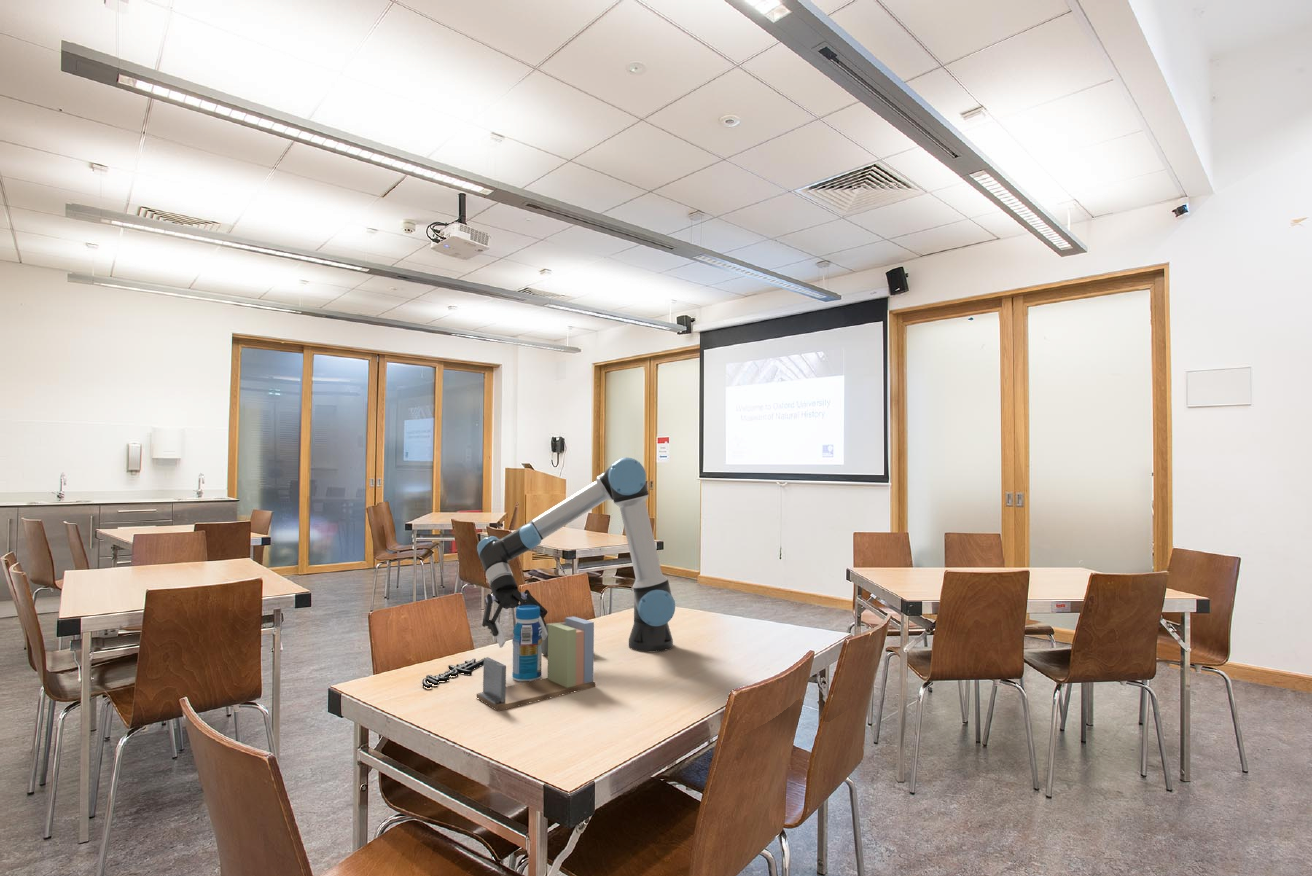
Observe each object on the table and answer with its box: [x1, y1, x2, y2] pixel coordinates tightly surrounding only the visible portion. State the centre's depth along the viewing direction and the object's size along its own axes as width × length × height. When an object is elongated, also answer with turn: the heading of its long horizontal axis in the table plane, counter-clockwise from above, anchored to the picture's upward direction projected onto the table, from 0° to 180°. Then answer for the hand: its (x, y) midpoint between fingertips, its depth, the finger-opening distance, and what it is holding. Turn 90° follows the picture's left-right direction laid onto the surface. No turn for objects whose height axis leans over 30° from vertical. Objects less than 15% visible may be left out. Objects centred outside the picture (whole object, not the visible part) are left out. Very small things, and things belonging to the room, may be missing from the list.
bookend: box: [478, 656, 507, 704], centre depth 163 cm, size 2×10×9 cm, turn 40°
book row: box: [547, 616, 595, 688], centre depth 178 cm, size 8×10×16 cm
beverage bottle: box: [511, 605, 543, 682], centre depth 184 cm, size 8×8×20 cm
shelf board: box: [476, 677, 596, 711], centre depth 171 cm, size 29×12×1 cm, turn 130°
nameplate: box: [422, 658, 484, 688], centre depth 186 cm, size 27×2×10 cm
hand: (524, 641), depth 184 cm, fingers open, 13 cm apart
